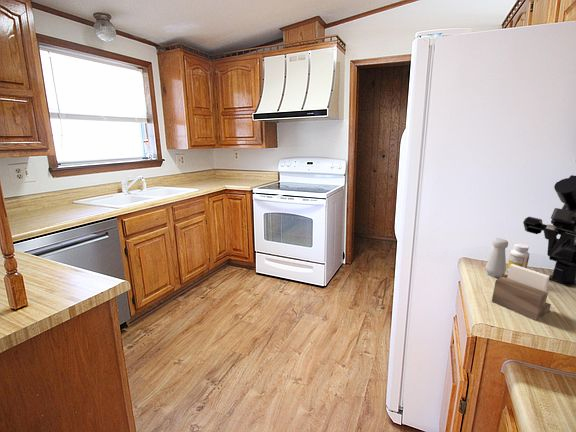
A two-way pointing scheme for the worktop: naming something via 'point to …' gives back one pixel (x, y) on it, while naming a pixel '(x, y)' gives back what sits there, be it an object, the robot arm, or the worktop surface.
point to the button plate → (528, 277)
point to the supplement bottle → (519, 256)
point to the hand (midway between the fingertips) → (549, 255)
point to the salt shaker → (497, 259)
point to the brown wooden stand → (520, 298)
